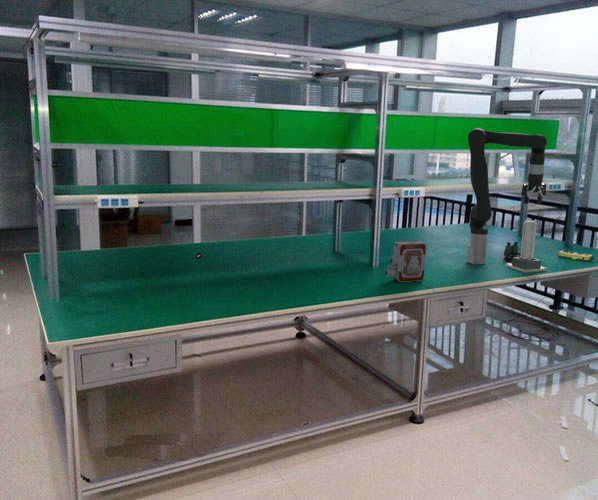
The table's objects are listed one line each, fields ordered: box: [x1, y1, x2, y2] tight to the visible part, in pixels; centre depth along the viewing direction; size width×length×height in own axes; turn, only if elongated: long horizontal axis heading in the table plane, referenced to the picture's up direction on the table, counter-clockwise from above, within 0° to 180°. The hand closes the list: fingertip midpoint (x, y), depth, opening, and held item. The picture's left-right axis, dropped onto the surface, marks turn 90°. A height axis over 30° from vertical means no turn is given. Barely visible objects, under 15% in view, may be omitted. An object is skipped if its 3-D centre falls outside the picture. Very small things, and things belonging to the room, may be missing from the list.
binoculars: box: [503, 241, 521, 262], centre depth 323 cm, size 9×11×10 cm
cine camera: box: [384, 240, 427, 283], centre depth 275 cm, size 9×19×20 cm, turn 103°
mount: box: [504, 257, 548, 274], centre depth 304 cm, size 15×15×6 cm
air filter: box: [519, 219, 538, 261], centre depth 302 cm, size 6×6×25 cm
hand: (532, 203), depth 297 cm, fingers open, 8 cm apart
